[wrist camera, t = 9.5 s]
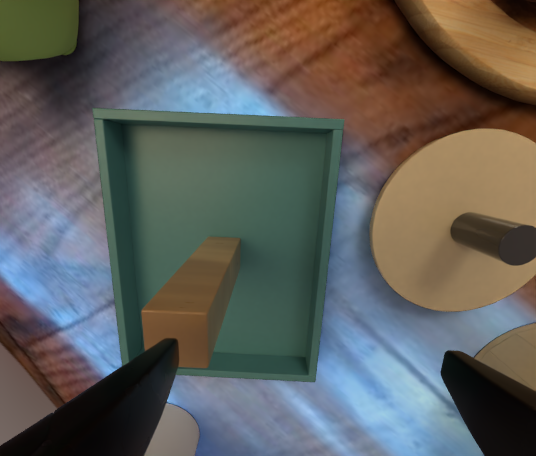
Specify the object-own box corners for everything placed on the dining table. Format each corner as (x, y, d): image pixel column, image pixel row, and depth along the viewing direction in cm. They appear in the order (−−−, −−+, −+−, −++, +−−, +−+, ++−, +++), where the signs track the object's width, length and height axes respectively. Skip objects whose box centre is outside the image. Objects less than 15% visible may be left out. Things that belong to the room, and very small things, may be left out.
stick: (240, 268, 20) (208, 369, 10) (208, 266, 20) (145, 366, 10) (240, 237, 19) (207, 313, 9) (207, 236, 19) (139, 310, 9)
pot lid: (518, 307, 21) (598, 354, 16) (355, 299, 21) (382, 342, 16) (574, 135, 17) (698, 122, 12) (380, 126, 17) (424, 110, 12)
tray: (310, 357, 22) (315, 382, 20) (139, 348, 22) (122, 372, 20) (334, 125, 17) (344, 119, 15) (117, 116, 18) (91, 107, 15)
